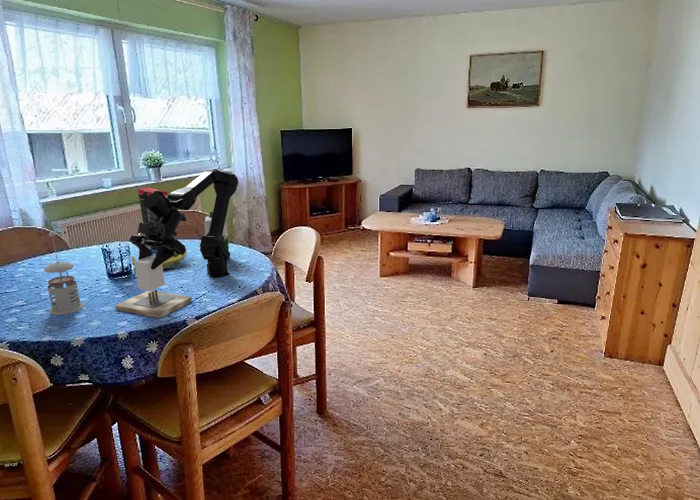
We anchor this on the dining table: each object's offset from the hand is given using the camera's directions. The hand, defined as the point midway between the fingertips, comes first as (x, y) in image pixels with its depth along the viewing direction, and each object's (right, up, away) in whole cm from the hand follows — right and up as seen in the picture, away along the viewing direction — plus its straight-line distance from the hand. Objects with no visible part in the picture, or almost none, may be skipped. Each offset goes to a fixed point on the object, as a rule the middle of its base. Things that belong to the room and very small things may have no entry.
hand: (145, 268), depth 145 cm
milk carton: (+8, +1, +51) cm, 52 cm away
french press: (-27, -13, +5) cm, 30 cm away
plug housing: (+1, -6, +3) cm, 7 cm away
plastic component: (-13, -1, +44) cm, 45 cm away
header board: (+1, -12, +5) cm, 13 cm away
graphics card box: (-24, +6, +69) cm, 74 cm away
